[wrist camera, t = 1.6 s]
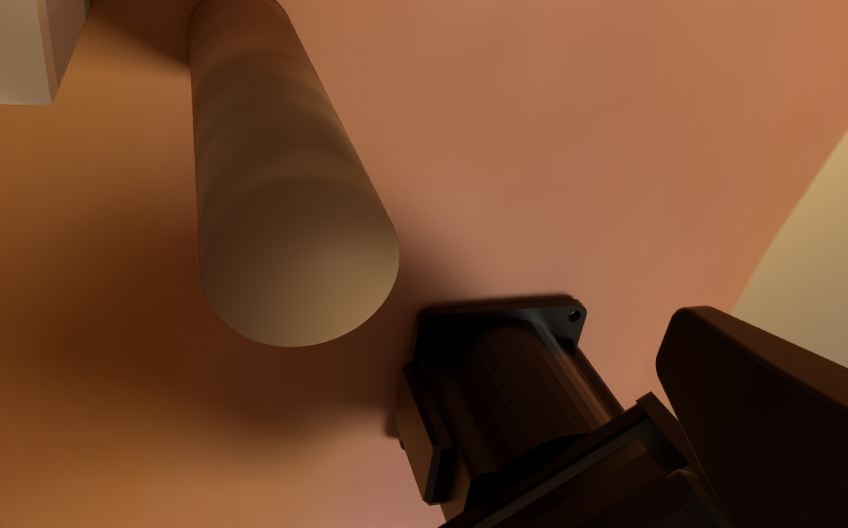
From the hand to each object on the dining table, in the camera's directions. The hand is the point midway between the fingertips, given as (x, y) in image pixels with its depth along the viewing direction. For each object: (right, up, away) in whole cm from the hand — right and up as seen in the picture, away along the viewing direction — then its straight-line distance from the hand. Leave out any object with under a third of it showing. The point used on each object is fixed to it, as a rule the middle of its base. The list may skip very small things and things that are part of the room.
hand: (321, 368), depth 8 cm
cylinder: (-4, +7, +10) cm, 13 cm away
